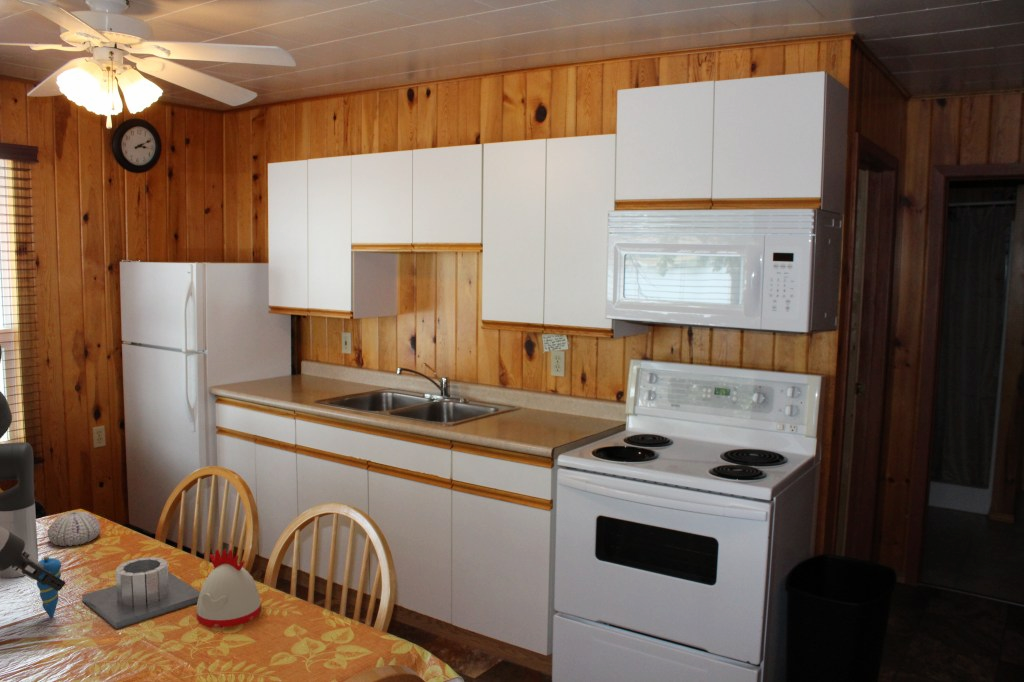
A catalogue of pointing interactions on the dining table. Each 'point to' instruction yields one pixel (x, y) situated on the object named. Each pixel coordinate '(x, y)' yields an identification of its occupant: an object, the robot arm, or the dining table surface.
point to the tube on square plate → (141, 593)
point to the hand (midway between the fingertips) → (55, 581)
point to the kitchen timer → (227, 594)
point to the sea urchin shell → (74, 529)
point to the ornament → (47, 592)
